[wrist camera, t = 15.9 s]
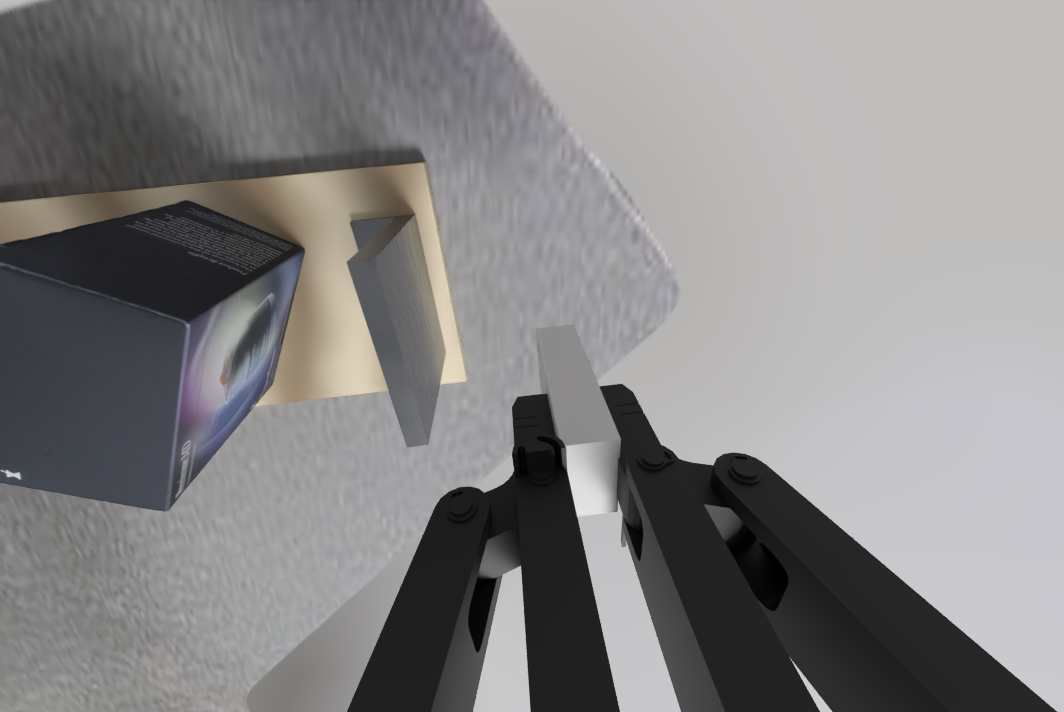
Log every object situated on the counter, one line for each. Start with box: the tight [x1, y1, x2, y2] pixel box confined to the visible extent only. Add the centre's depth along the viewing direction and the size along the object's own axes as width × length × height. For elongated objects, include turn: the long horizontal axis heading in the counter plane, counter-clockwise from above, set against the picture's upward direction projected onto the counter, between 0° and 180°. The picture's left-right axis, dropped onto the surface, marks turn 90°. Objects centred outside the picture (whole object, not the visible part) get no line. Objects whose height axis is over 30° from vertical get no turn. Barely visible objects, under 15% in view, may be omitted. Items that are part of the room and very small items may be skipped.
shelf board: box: [0, 162, 468, 407], centre depth 24 cm, size 34×14×1 cm, turn 95°
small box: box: [0, 200, 305, 512], centre depth 19 cm, size 11×6×10 cm, turn 153°
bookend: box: [347, 214, 446, 447], centre depth 20 cm, size 4×9×9 cm, turn 5°
